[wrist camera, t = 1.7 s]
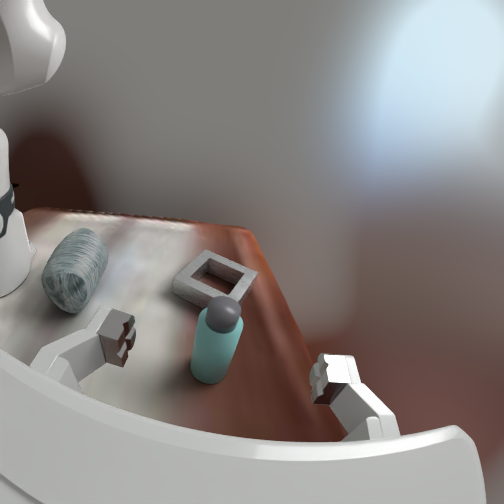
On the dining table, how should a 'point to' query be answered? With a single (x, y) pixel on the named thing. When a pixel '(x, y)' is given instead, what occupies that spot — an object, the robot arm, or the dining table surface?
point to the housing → (220, 267)
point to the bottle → (216, 339)
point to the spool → (75, 270)
